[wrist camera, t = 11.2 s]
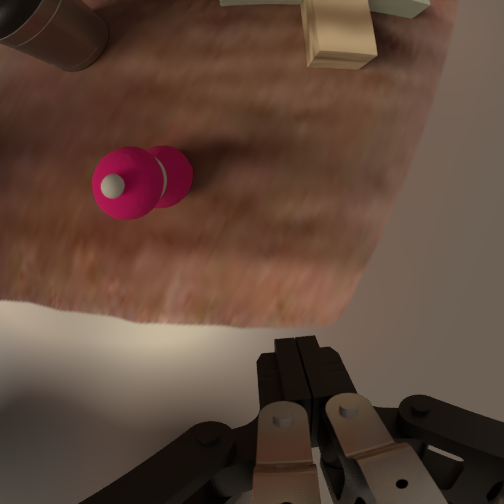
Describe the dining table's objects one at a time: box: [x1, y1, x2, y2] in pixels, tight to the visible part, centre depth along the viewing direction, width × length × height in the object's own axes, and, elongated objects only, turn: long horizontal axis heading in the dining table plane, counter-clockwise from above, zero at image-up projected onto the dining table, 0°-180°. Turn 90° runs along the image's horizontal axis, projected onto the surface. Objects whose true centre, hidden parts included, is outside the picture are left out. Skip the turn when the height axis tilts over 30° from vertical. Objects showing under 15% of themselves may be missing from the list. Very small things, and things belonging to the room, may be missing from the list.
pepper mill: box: [92, 146, 193, 220], centre depth 30 cm, size 7×7×20 cm
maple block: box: [300, 0, 378, 70], centre depth 32 cm, size 10×7×7 cm
